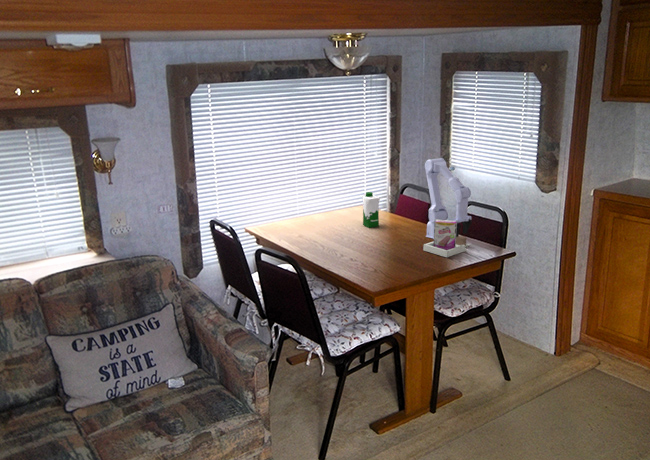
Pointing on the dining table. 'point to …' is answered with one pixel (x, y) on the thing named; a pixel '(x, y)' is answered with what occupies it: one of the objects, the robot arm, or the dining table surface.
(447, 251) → the frame
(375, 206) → the milk carton
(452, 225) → the candy bar box
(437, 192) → the robot arm
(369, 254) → the dining table surface
